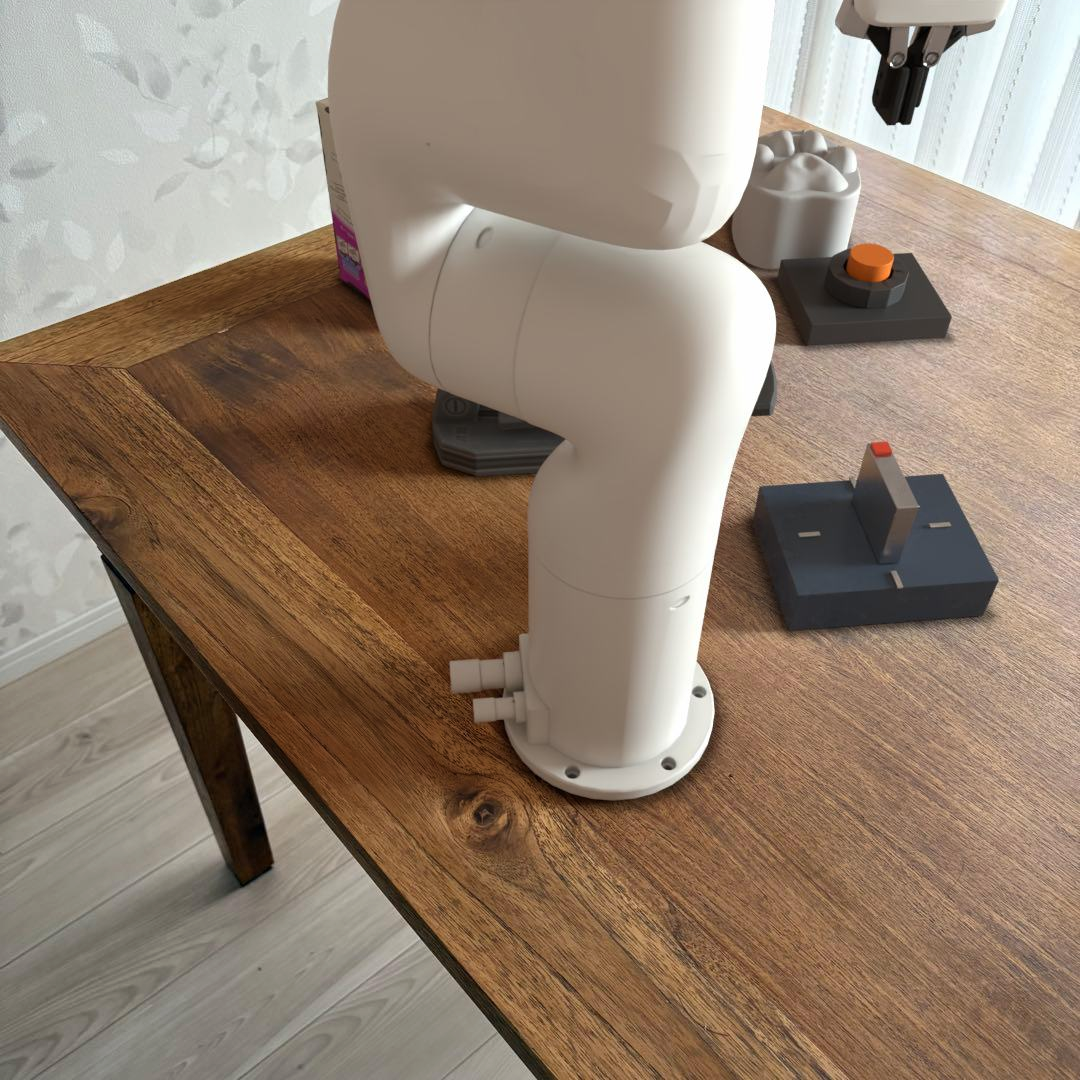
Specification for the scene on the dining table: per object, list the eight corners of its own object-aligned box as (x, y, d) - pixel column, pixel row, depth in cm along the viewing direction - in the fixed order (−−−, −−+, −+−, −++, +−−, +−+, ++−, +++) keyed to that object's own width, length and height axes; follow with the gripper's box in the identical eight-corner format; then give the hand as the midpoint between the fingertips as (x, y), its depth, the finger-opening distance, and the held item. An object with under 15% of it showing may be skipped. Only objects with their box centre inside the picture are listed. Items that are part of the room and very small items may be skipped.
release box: (806, 346, 93) (815, 306, 90) (776, 280, 100) (784, 241, 97) (945, 338, 94) (958, 298, 91) (906, 273, 101) (917, 234, 98)
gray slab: (899, 563, 71) (920, 503, 67) (878, 564, 71) (897, 505, 67) (871, 498, 75) (888, 439, 71) (850, 499, 75) (867, 440, 71)
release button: (853, 285, 93) (857, 267, 92) (840, 262, 95) (844, 244, 94) (895, 283, 93) (899, 265, 92) (881, 260, 96) (885, 242, 94)
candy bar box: (458, 311, 96) (447, 129, 84) (411, 334, 94) (394, 149, 82) (383, 259, 102) (363, 81, 90) (337, 278, 100) (311, 99, 88)
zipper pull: (785, 411, 76) (423, 404, 77) (770, 481, 81) (429, 475, 82) (769, 334, 83) (434, 328, 83) (756, 404, 87) (439, 398, 88)
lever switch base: (788, 632, 71) (798, 594, 69) (751, 521, 78) (759, 483, 76) (984, 617, 72) (1001, 579, 70) (929, 508, 79) (943, 470, 77)
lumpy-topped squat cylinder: (737, 268, 101) (751, 180, 95) (726, 197, 110) (737, 112, 104) (852, 271, 101) (873, 182, 95) (831, 199, 110) (849, 114, 104)
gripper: (862, -168, 63) (803, 144, 76) (1114, -171, 64) (1014, 137, 77) (825, -199, 68) (775, 98, 81) (1058, -201, 69) (972, 92, 82)
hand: (892, 116), depth 79 cm, fingers closed
